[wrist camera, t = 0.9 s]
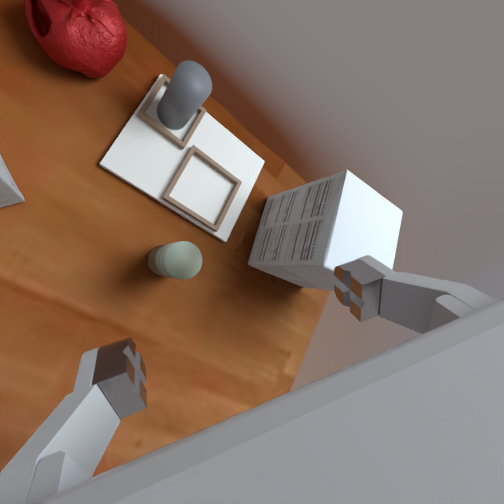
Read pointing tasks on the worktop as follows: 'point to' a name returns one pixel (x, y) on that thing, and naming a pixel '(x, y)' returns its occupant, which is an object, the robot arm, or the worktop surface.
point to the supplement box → (324, 230)
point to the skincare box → (8, 187)
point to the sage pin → (175, 260)
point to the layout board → (185, 153)
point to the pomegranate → (79, 33)
